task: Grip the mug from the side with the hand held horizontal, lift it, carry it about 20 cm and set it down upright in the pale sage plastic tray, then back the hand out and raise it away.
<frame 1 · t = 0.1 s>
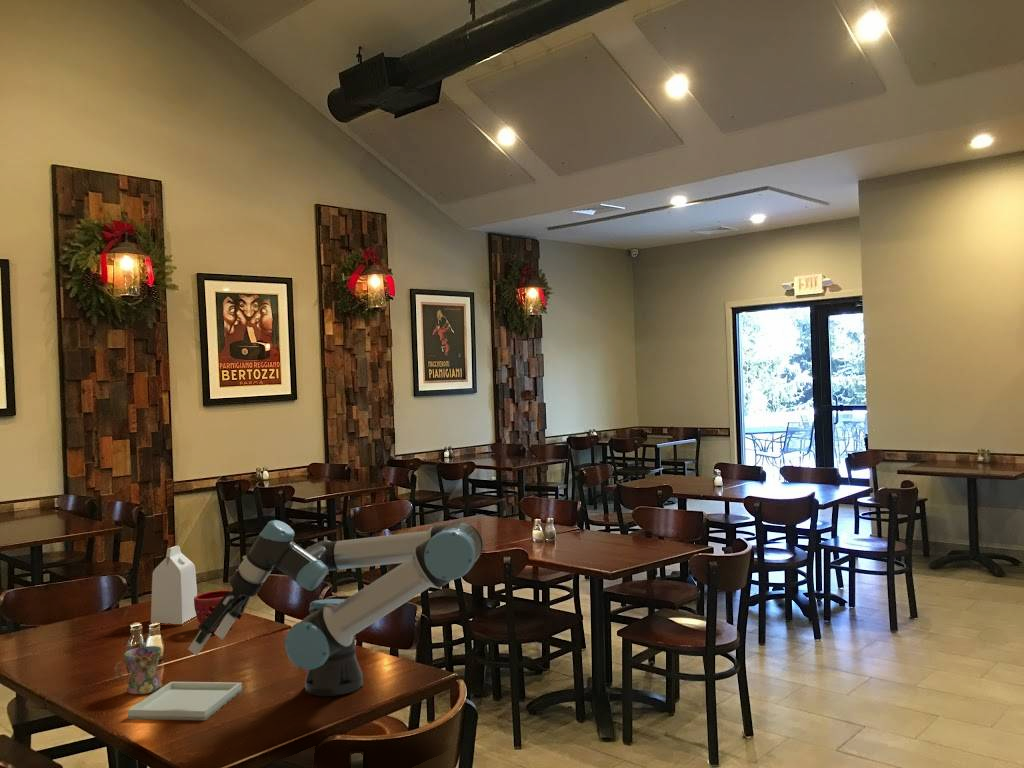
hand: (206, 643, 214), 15 cm above the table, tool tilted 35°, fingers open, 13 cm apart
milk: (175, 621, 296), on the table
plant pot: (215, 630, 284), on the table
mug: (139, 693, 224), on the table
tray: (187, 704, 214), on the table
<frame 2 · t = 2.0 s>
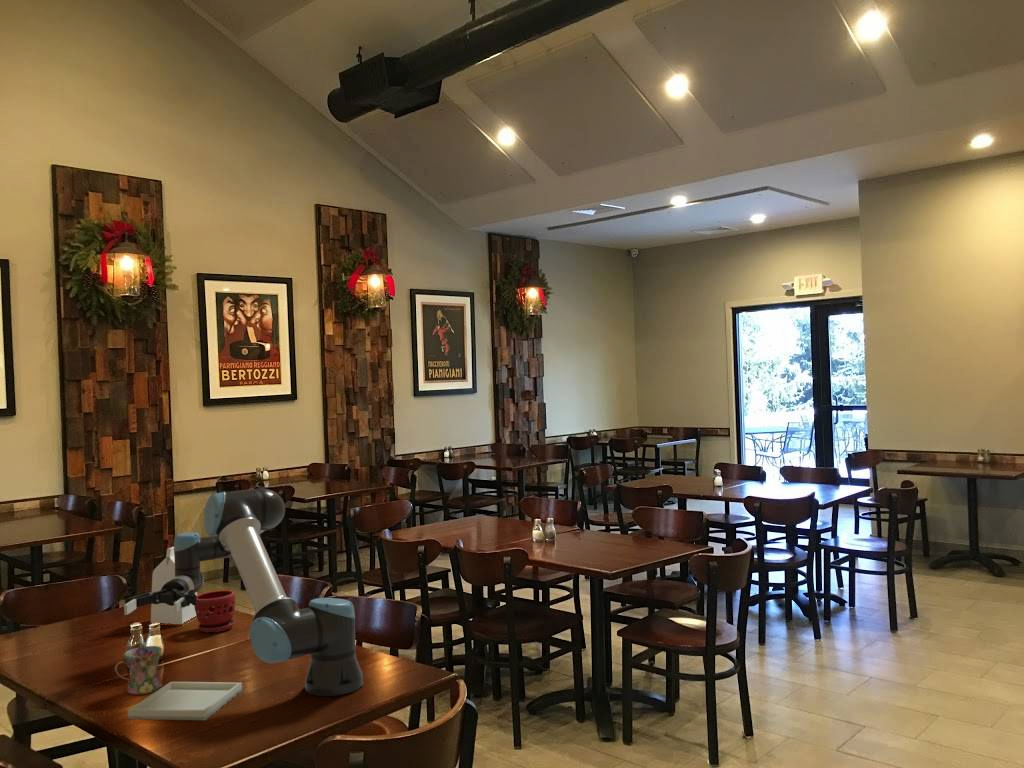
hand: (150, 608, 234), 20 cm above the table, tool horizontal, fingers open, 13 cm apart
nothing on the table moved.
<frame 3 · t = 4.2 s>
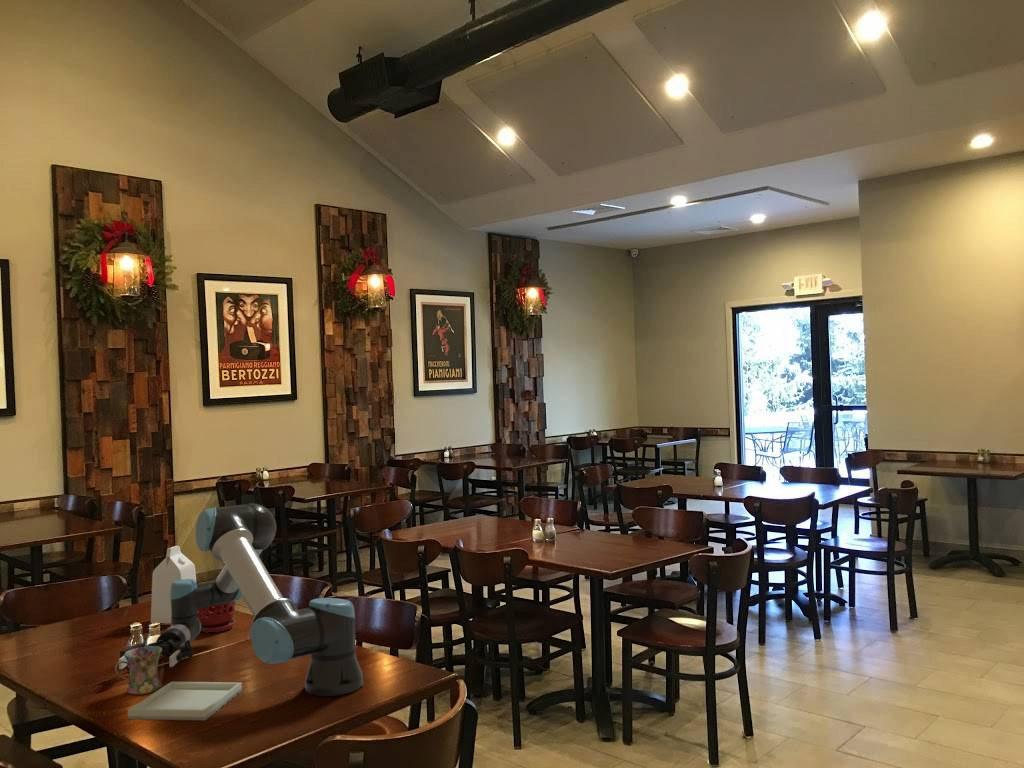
hand: (145, 663, 230), 6 cm above the table, tool horizontal, fingers open, 13 cm apart
nothing on the table moved.
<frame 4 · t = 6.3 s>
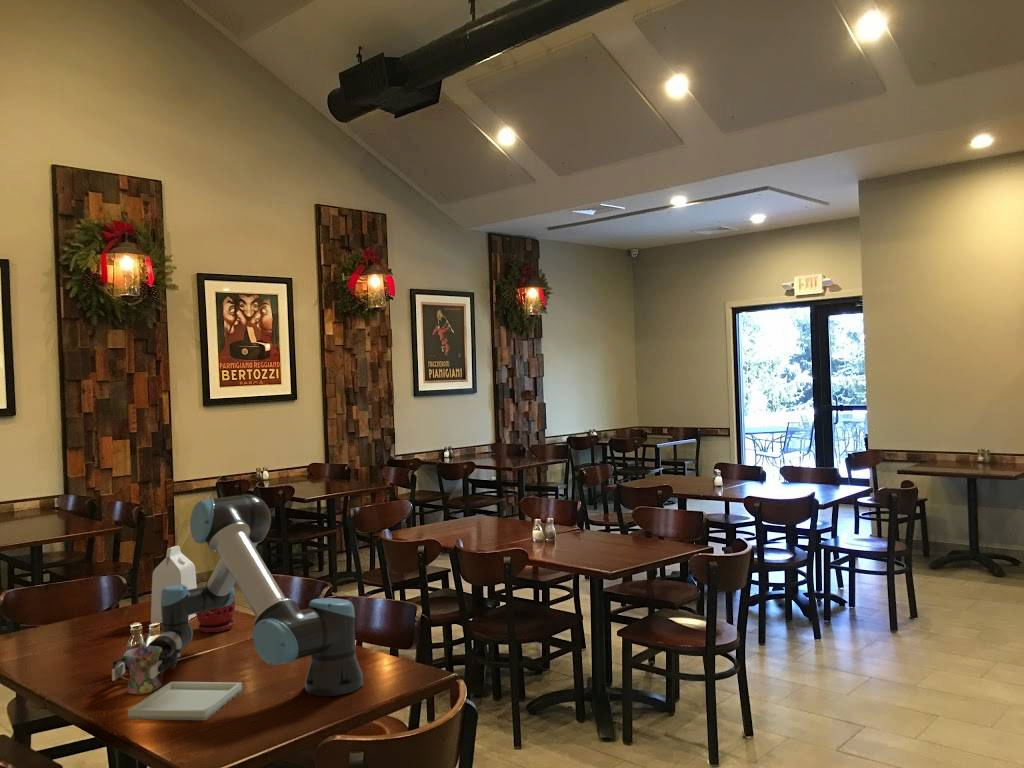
hand: (132, 674, 220), 6 cm above the table, tool horizontal, fingers closed on mug, 9 cm apart
mug: (138, 692, 224), on the table, touching gripper
everything else where it was.
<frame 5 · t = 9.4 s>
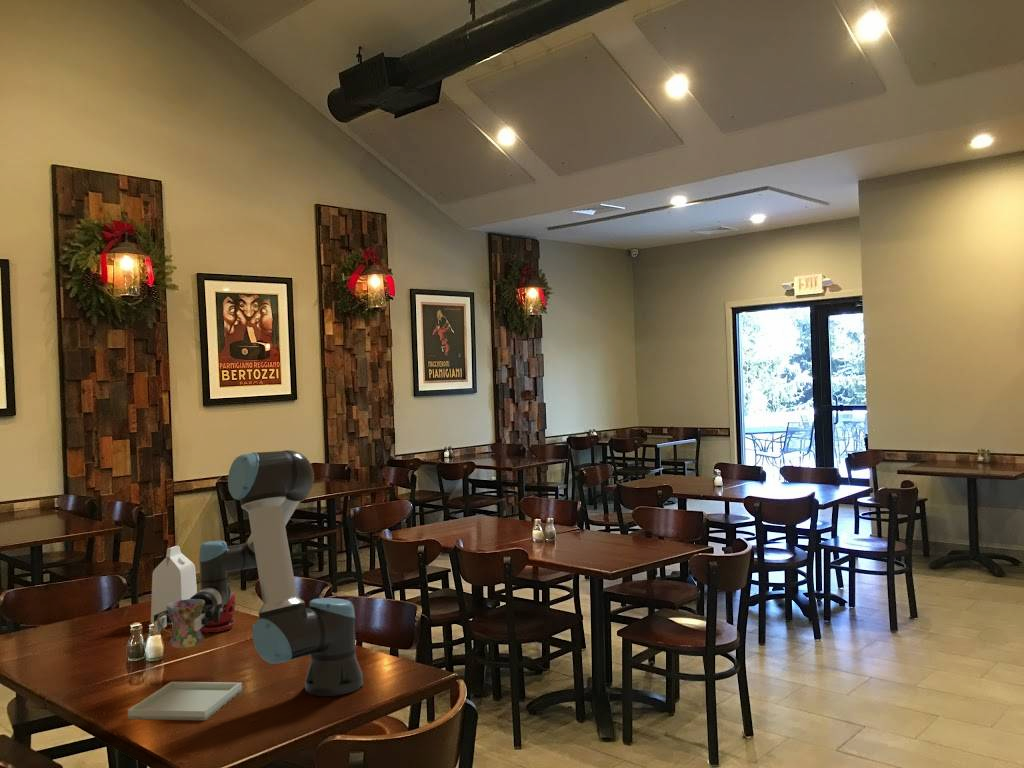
hand: (175, 626, 210), 21 cm above the table, tool horizontal, fingers closed on mug, 9 cm apart
mug: (181, 646, 214), point 15 cm above the table, touching gripper
everything else where it was.
when the fingers open (8 cm above the table, at t = 12.5 s): mug drops 1 cm, resting on tray.
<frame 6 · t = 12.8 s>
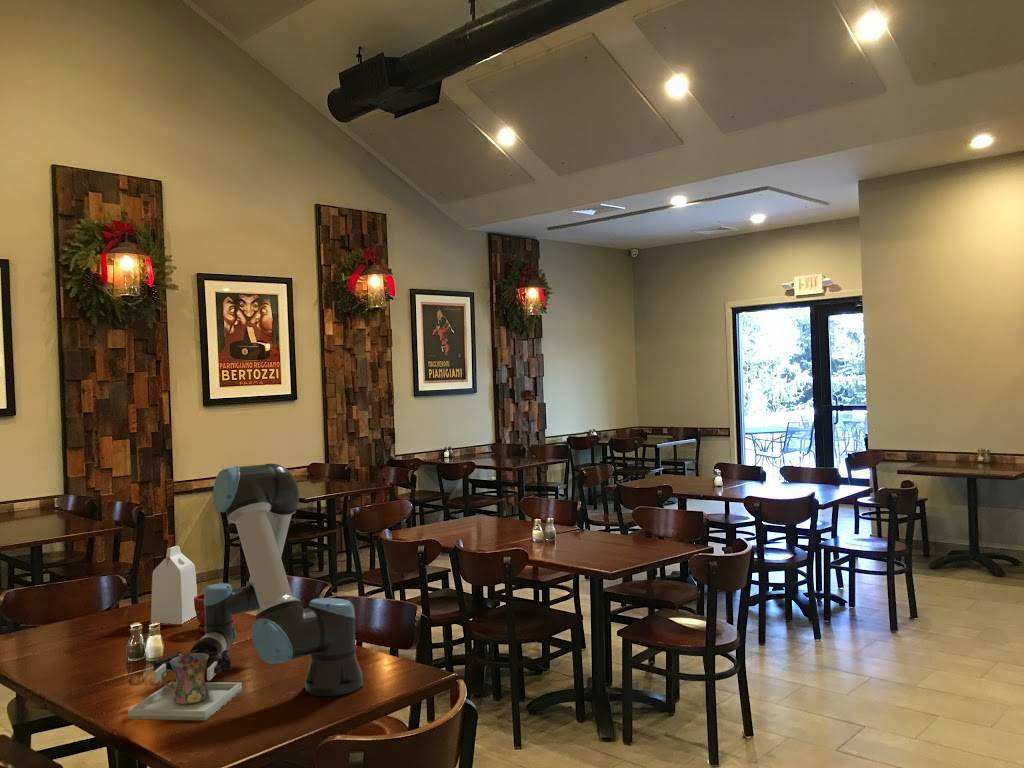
hand: (181, 676, 210), 8 cm above the table, tool horizontal, fingers open, 12 cm apart
mug: (186, 702, 213), point 1 cm above the table, touching tray
everything else where it was.
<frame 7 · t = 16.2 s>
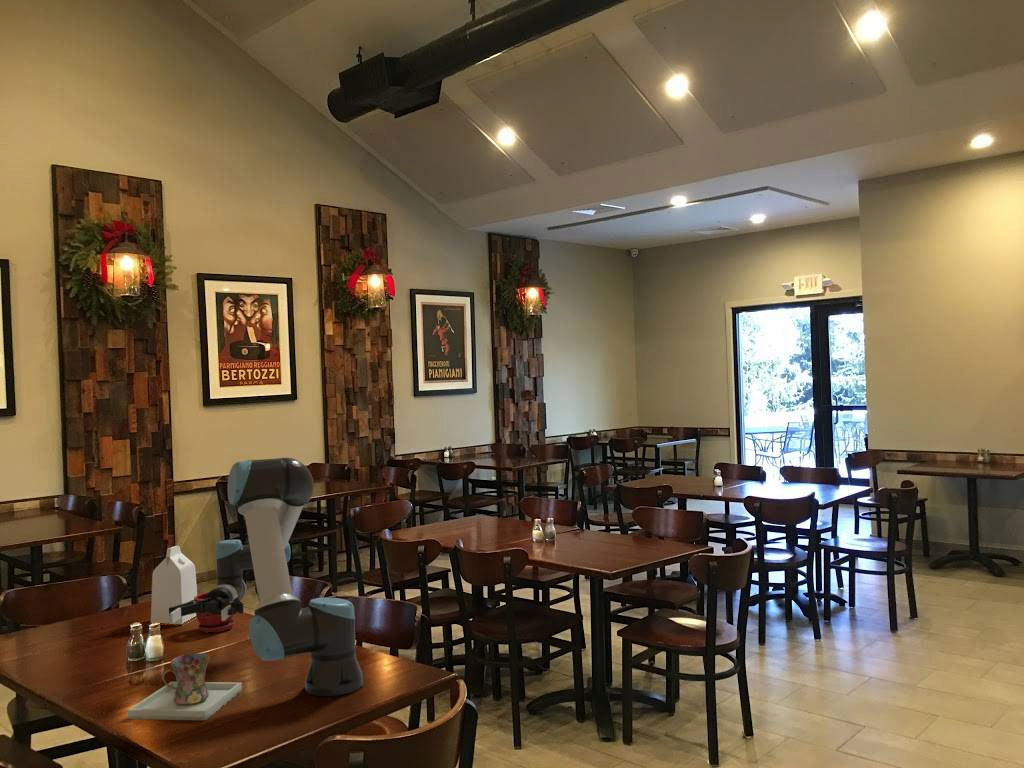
hand: (197, 617, 224), 19 cm above the table, tool horizontal, fingers open, 13 cm apart
nothing on the table moved.
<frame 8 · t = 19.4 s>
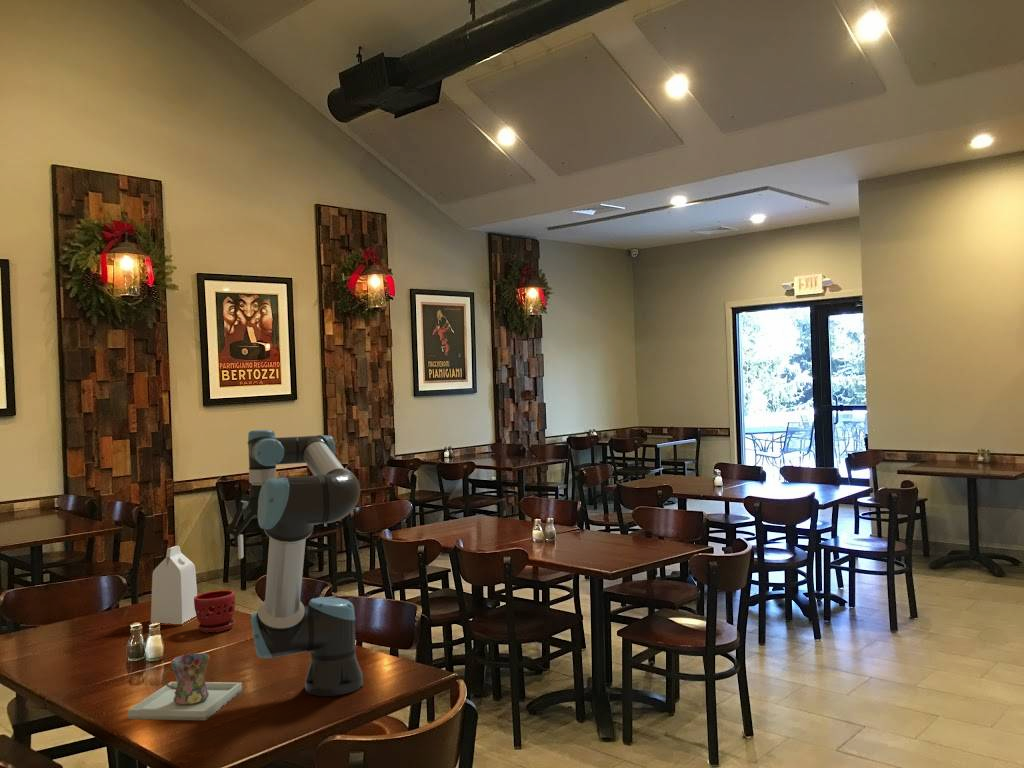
hand: (264, 557, 242), 32 cm above the table, tool pointing down, fingers open, 13 cm apart
nothing on the table moved.
at the end: mug inside the target area on the tray (0.6 cm from its centre), point 0.6 cm above the tray's base; mug tilted 0°; the gripper is holding nothing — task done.
